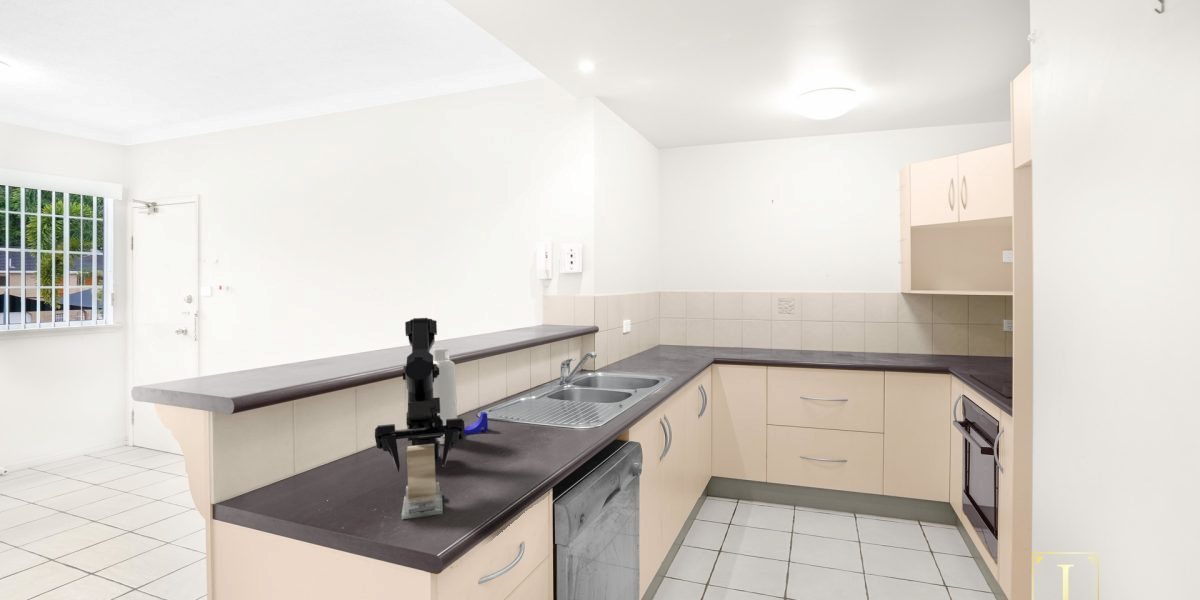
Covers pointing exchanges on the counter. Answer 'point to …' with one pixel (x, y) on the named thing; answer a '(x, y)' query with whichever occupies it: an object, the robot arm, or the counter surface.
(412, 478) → the beech block
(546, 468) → the counter surface
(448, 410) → the bottle
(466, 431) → the blue curved bracket
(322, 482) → the counter surface
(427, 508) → the frosted green stand
